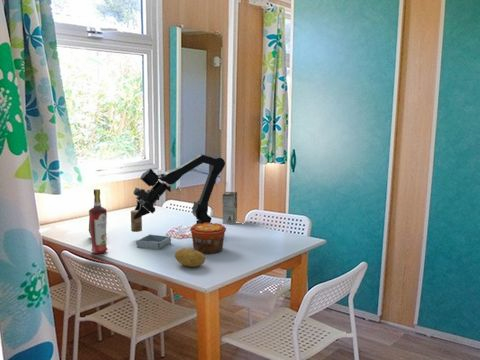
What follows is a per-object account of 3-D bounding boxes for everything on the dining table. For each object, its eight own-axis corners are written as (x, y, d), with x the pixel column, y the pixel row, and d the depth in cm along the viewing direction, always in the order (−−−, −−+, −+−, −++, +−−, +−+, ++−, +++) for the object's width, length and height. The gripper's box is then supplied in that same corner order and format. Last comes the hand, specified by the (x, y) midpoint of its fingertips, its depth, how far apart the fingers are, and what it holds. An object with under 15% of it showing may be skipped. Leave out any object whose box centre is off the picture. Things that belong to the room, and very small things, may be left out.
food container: (212, 257, 207) (212, 233, 206) (182, 251, 216) (182, 227, 214) (232, 248, 221) (233, 225, 219) (204, 242, 229) (204, 220, 227)
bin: (170, 242, 228) (170, 236, 228) (159, 249, 218) (159, 243, 217) (149, 240, 232) (149, 234, 231) (137, 247, 221) (137, 240, 221)
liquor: (101, 248, 218) (99, 187, 214) (111, 252, 214) (109, 189, 209) (87, 252, 213) (84, 189, 208) (97, 256, 208) (94, 191, 204)
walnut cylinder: (144, 229, 234) (143, 210, 232) (138, 232, 229) (137, 212, 228) (134, 228, 236) (134, 209, 234) (129, 231, 231) (128, 211, 229)
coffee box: (226, 219, 273) (226, 191, 270) (237, 220, 271) (237, 191, 269) (222, 223, 264) (222, 194, 261) (233, 224, 262) (234, 195, 260)
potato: (192, 272, 190) (192, 255, 189) (170, 265, 198) (169, 248, 197) (208, 266, 197) (208, 249, 196) (186, 259, 205) (186, 243, 204)
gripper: (139, 178, 239) (117, 202, 236) (147, 184, 221) (123, 210, 219) (156, 193, 243) (134, 216, 241) (165, 200, 226) (141, 226, 223)
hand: (133, 217), depth 231 cm, fingers closed on walnut cylinder, 5 cm apart
